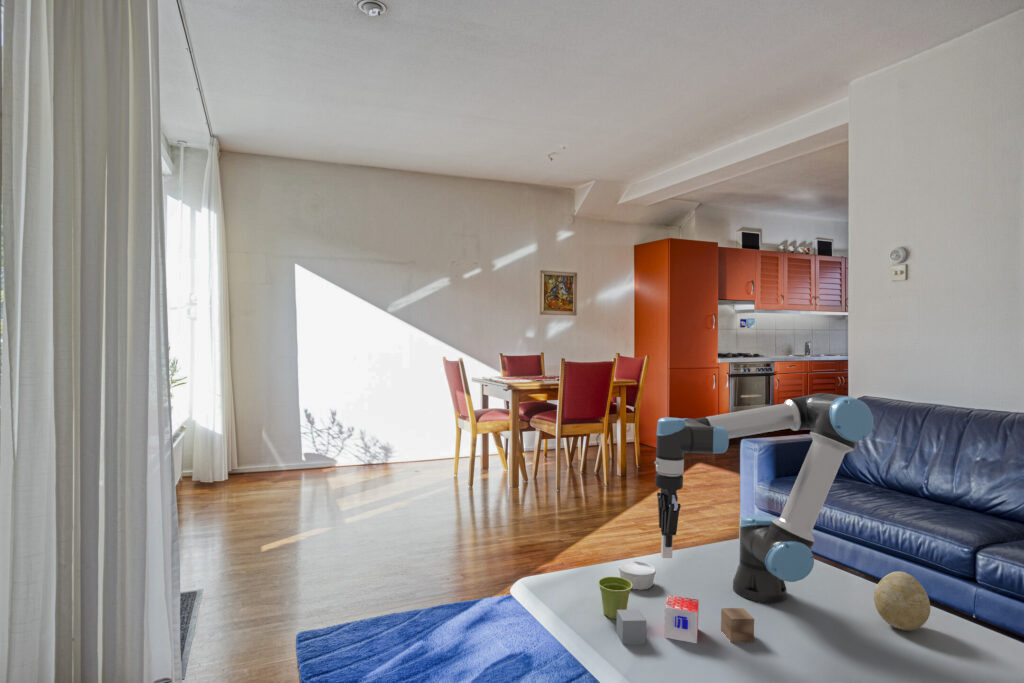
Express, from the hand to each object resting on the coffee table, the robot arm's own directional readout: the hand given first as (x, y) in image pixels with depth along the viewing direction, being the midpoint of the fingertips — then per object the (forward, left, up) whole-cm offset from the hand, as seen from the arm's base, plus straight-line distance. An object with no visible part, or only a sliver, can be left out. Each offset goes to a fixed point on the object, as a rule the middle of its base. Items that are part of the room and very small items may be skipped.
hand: (666, 557), depth 168 cm
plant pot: (+15, +1, -16) cm, 22 cm away
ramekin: (+3, -19, -16) cm, 25 cm away
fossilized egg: (-61, +11, -16) cm, 64 cm away
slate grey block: (+14, +14, -16) cm, 25 cm away
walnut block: (-14, +14, -16) cm, 25 cm away
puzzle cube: (0, +12, -16) cm, 20 cm away
